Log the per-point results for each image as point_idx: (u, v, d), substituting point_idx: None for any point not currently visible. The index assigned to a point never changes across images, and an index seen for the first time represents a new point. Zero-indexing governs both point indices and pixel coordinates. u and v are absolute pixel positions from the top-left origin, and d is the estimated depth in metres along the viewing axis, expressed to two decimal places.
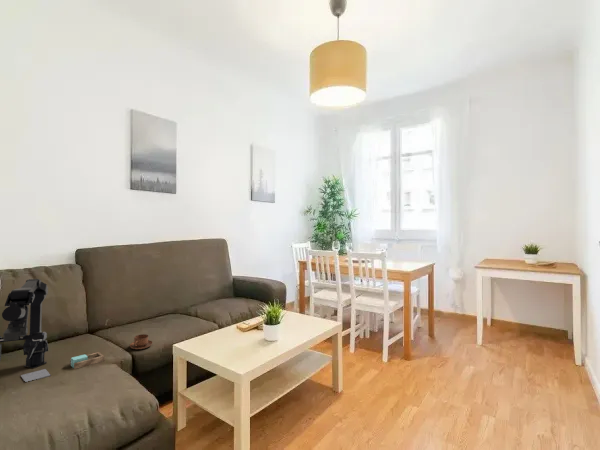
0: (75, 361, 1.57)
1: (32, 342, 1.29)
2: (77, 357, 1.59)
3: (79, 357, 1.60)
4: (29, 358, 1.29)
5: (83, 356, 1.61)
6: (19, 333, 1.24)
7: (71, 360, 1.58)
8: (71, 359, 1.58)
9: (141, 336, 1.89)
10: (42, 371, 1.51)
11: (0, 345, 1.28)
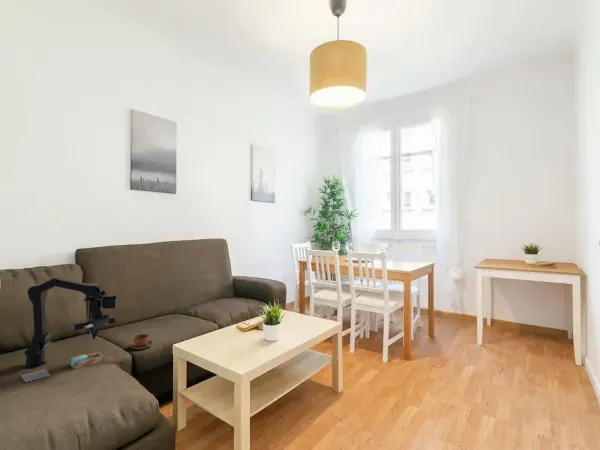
0: (75, 361, 1.57)
1: (98, 327, 1.64)
2: (77, 357, 1.59)
3: (79, 357, 1.60)
4: (94, 338, 1.65)
5: (83, 356, 1.61)
6: (105, 320, 1.61)
7: (71, 360, 1.58)
8: (71, 359, 1.58)
9: (141, 336, 1.89)
10: (42, 371, 1.51)
11: None
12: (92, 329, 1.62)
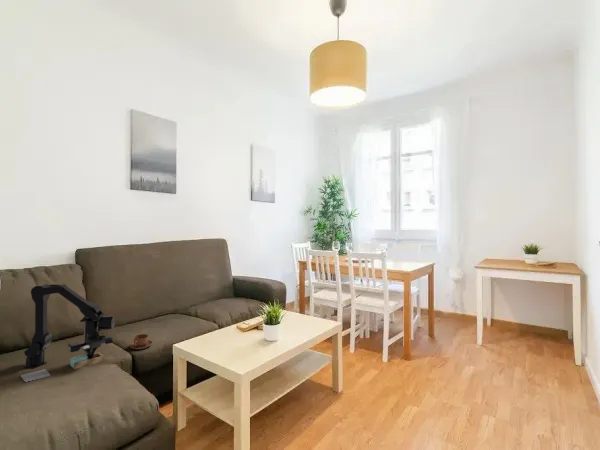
0: (75, 361, 1.57)
1: (95, 348, 1.63)
2: (77, 357, 1.59)
3: (79, 357, 1.59)
4: None
5: (83, 356, 1.61)
6: (102, 342, 1.60)
7: (71, 360, 1.58)
8: (71, 359, 1.58)
9: (141, 336, 1.89)
10: (42, 371, 1.51)
11: None
12: (88, 350, 1.61)
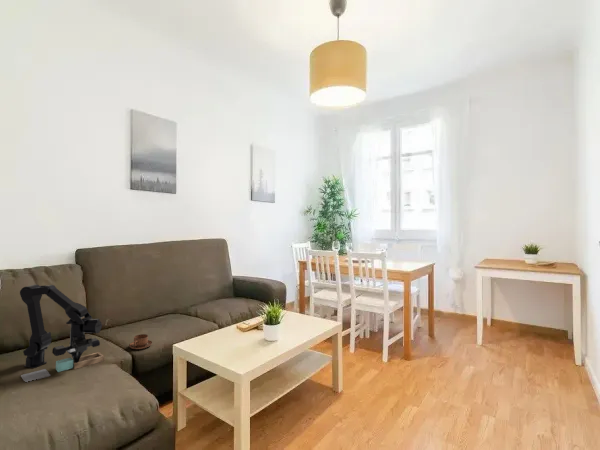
0: (60, 364, 1.52)
1: (81, 351, 1.58)
2: (62, 360, 1.55)
3: (64, 360, 1.55)
4: None
5: (68, 359, 1.56)
6: (88, 345, 1.56)
7: (56, 363, 1.54)
8: (56, 362, 1.54)
9: (141, 336, 1.89)
10: (42, 371, 1.51)
11: None
12: (75, 353, 1.57)
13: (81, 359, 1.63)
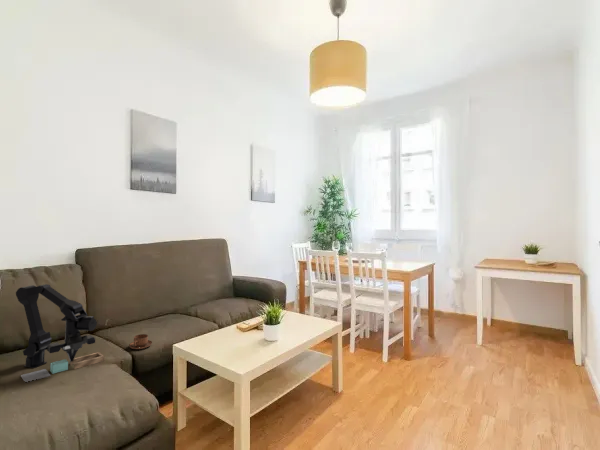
0: (54, 366, 1.51)
1: (76, 348, 1.57)
2: (57, 362, 1.53)
3: (59, 362, 1.53)
4: (72, 360, 1.57)
5: (63, 361, 1.54)
6: (83, 342, 1.54)
7: (50, 365, 1.52)
8: (50, 364, 1.52)
9: (141, 336, 1.89)
10: (42, 371, 1.51)
11: None
12: (69, 351, 1.55)
13: (81, 359, 1.63)
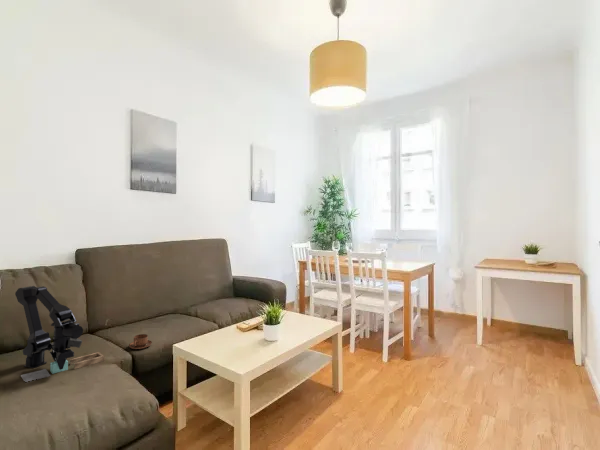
0: (54, 366, 1.50)
1: None
2: None
3: None
4: None
5: None
6: None
7: (50, 365, 1.52)
8: (50, 364, 1.52)
9: (140, 336, 1.89)
10: (42, 371, 1.51)
11: None
12: None
13: (81, 359, 1.63)
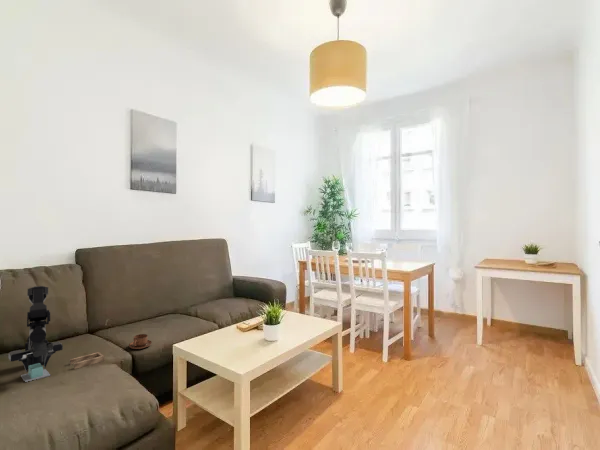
0: (29, 368, 1.47)
1: (49, 354, 1.49)
2: (36, 365, 1.48)
3: (34, 366, 1.47)
4: (45, 366, 1.50)
5: (35, 367, 1.46)
6: (48, 349, 1.44)
7: None
8: None
9: (140, 336, 1.89)
10: None
11: None
12: (25, 361, 1.42)
13: (81, 359, 1.63)
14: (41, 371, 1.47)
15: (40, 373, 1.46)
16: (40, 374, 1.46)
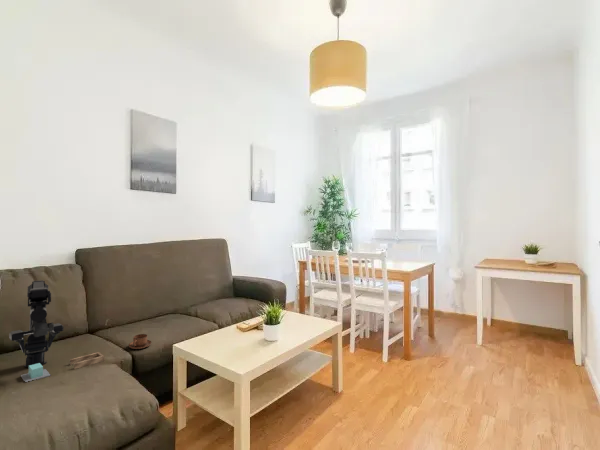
0: (29, 368, 1.47)
1: (54, 334, 1.50)
2: (36, 365, 1.48)
3: (34, 366, 1.47)
4: None
5: (35, 367, 1.46)
6: (49, 329, 1.44)
7: None
8: None
9: (140, 336, 1.89)
10: None
11: None
12: (21, 341, 1.41)
13: (81, 359, 1.63)
14: (41, 371, 1.47)
15: (40, 373, 1.46)
16: (40, 374, 1.46)
